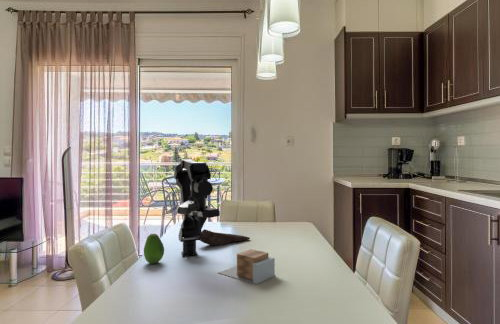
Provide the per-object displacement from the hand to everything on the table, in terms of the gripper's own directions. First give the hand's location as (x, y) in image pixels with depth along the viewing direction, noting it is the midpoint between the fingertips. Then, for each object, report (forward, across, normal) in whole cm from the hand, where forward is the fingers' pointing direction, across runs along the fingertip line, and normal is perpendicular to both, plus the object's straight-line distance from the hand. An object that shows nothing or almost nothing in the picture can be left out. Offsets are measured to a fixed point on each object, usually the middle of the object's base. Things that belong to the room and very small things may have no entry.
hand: (198, 232), depth 141 cm
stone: (+13, -15, +30) cm, 36 cm away
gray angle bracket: (+13, +23, +2) cm, 26 cm away
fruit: (+13, -15, -10) cm, 22 cm away
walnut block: (+12, +26, +2) cm, 29 cm away
